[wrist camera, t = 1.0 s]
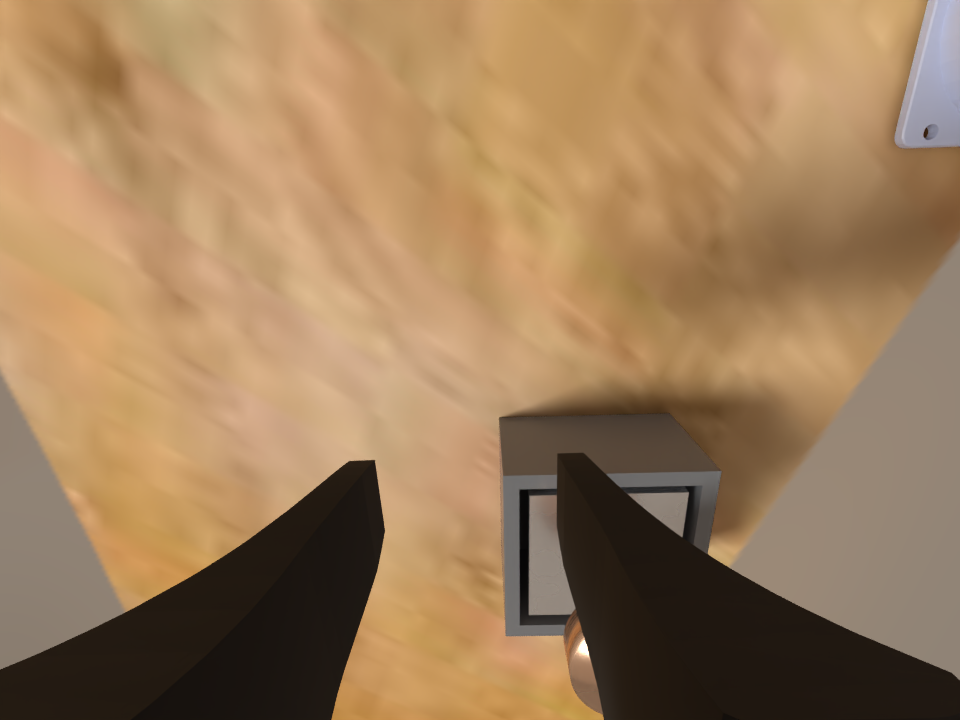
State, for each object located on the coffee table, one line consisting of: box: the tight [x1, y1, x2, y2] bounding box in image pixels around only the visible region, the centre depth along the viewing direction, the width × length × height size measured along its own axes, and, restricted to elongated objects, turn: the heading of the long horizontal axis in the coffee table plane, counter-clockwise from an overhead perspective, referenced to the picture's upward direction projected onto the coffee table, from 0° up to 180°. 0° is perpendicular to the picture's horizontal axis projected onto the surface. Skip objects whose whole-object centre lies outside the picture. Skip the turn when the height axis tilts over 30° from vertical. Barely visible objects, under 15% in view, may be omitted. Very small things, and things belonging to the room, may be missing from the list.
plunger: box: [528, 486, 689, 714], centre depth 16 cm, size 6×6×5 cm
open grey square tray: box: [499, 413, 721, 636], centre depth 20 cm, size 8×8×5 cm
